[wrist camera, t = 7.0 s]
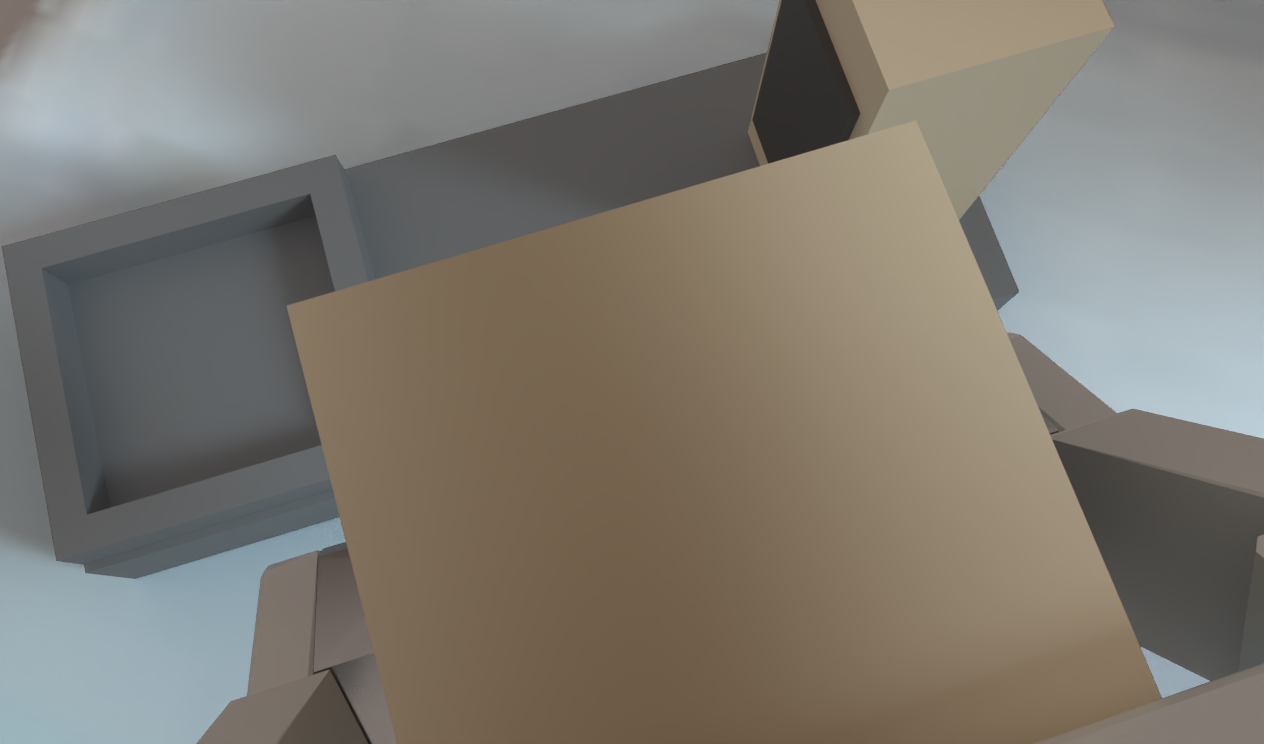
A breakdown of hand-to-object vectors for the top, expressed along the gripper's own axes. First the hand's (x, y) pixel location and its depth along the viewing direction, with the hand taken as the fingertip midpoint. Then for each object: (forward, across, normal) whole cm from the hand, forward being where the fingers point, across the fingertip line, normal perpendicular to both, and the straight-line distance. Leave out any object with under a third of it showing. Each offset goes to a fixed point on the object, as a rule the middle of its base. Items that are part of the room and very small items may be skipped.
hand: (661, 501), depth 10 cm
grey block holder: (+18, 0, +6) cm, 19 cm away
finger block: (+3, 0, +4) cm, 5 cm away
